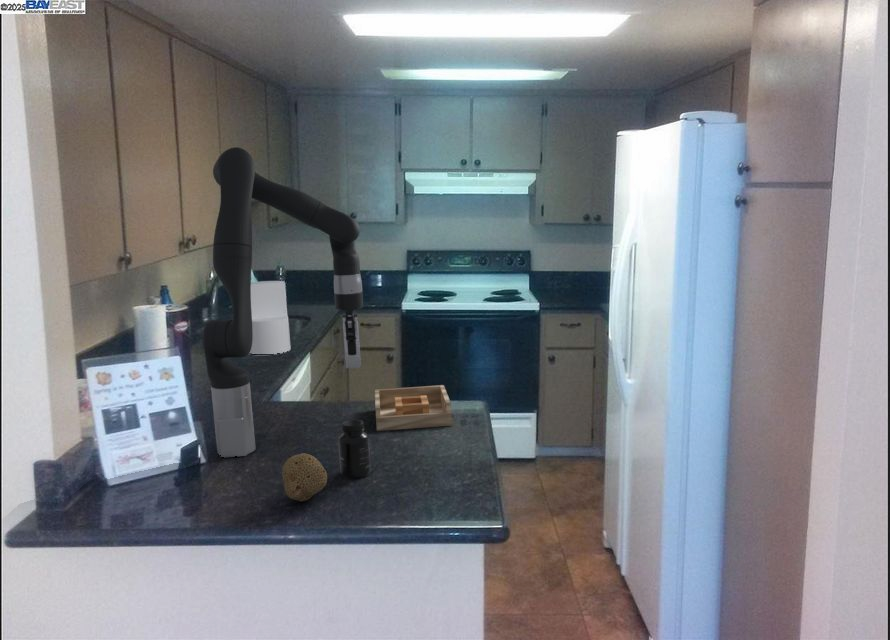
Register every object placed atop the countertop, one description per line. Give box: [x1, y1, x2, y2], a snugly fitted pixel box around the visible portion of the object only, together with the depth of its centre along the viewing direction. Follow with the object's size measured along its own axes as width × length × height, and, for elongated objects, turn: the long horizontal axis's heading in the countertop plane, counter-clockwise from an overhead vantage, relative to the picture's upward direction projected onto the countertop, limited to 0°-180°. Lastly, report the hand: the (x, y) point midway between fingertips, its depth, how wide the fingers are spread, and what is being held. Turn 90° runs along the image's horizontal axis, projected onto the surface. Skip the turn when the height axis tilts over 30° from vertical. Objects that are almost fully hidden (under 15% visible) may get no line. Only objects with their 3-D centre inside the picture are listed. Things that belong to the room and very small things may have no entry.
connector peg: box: [342, 321, 362, 369], centre depth 205 cm, size 4×4×12 cm
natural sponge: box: [281, 452, 328, 502], centre depth 155 cm, size 9×9×10 cm
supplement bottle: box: [338, 419, 372, 480], centre depth 168 cm, size 7×7×12 cm
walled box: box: [374, 384, 453, 432], centre depth 209 cm, size 20×20×6 cm
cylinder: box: [250, 280, 292, 355], centre depth 309 cm, size 17×17×28 cm
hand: (352, 352), depth 205 cm, fingers closed on connector peg, 4 cm apart
